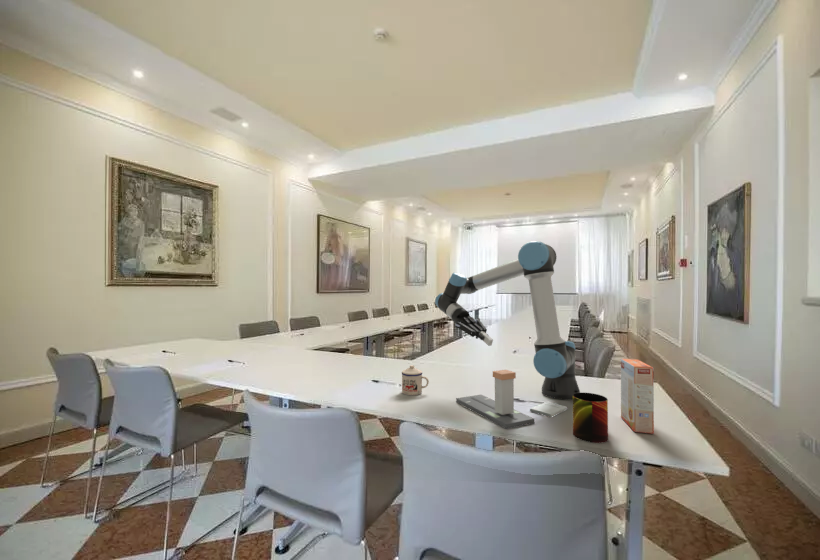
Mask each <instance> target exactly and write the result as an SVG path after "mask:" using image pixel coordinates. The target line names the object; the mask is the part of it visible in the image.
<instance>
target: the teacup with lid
mask: <svg viewBox="0 0 820 560" xmlns="http://www.w3.org/2000/svg"><path fill="white" fill-rule="evenodd" d="M423 379H424V380H426V384H425V385H423V382H422V381H423ZM429 383H430V382H429V378H428V377H427V376H423V371H422V370H420V369H418V368H416V367H415V366H414V365H412V364H411V365H409V367H408V368H406V369H403V370H402V371H401V392H402V394H404V395H406V396H418V395H421V394H422V393H423V389H426V388H427V387H428V386H429Z"/></svg>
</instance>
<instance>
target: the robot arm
mask: <svg viewBox="0 0 820 560" xmlns="http://www.w3.org/2000/svg"><path fill="white" fill-rule="evenodd" d="M556 262H557V252H556V250H555V249H554V248H553V247H552V246H551V245H550V244H547V243H546V244H545V243H544V242H542V241H537V240H536V241H535V240H532V241H528V242H526V243H525V244H523V245H522V247H520V249H519V250H518V255H517V259H515V260H511V261H509V262H507V263H504V264H502V265H498V266H496V267H494V268H493V267H492V268H491V269H488V270H485V271H483V272H480V273H477V274H475V275H472V276H470V277H466V276H465V275H464V274H461V273H458V272H453V273H451V275H450V277H449V279H448V282H447V284H446V286H445V288H444V291H443V292H441V293H439V294H438V295H437V296H436V297H435V300H434V303H435V306H436V307H437V308H438V309H439V310H440V311H441V312H443V313H444V314H445V315H446V316H447V317H449V319H451V321H453V322H454V323H455V324H454V325H455V326H454V327H455V328H456V329H459V330H461V331H462V332H463V333H465V334H467V335H469V336H470V337H472V338H474V337H475V339H479V340H480V341H483V342H484V343H485V344H486V345H487V346H489V347H490V346H492V345H493V343H494V342H493V341H494V339H493V338H492V337H491V336H490V335H489V334H488V333H487V330H488V328H487V327H486V326H485V324H483V322H482V321H481V318H480V317H477V318H476V319H475V318H474V317H473V316H471V314H470V313H469V311H467V309H465V308H464V307H463V306H461V304H459V303H458V300H459V299H460V297H461V294H462V295H463V294H464V295H465V294H466V295H471V294H474V293H476V292H478V291H480V290H483V289H485V288H488V287H489V288H490V287H491V286H494V285H497V284H500V283H503V282H506V281H509V280H512V279H514V278H518V277H521V276H523V277H524V278H525V279H526V280H528V285H529V291H530V297H531V305H532V311H533V319H534V326H535V332H536V340H535V341H534V343H533V344H534V352H535V354H534V356H533V363H532V364H533V366H534V369H535V371H536V372H537V373H539V374H540V375H541V376H542V377H544V379H543V383H542V385H541V394H542V395H543V396H545V397H548V398H551V399H555V400H556V399H557V400H563V401H564V400H565V401H567V400H569V401H573V394H575V393H581V390H580V387H579V384H578V381H577V378H576V350H577V349H576V344H575V343H574V342H573V341H569V340H568V341H567V340H565V339H563V338H562V337H561V335H560V334H561V333H560V328H559V321H558V315H557V308H556V307H557V306H556V302H555V295H554V289H553V283H552V282H553V281H552V276H553V275H554V274H555V269H554V265H555V264H556Z"/></svg>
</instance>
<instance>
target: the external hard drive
mask: <svg viewBox="0 0 820 560" xmlns="http://www.w3.org/2000/svg"><path fill="white" fill-rule="evenodd" d="M567 410H568V407H567V406H566V405H561V404H557V403H555V402H554V403H553V402H550V401H545V402H543V403H540V404H539V405H536V406H534V407H531V408H529V412H530V411H531V413H534V412H535V413H534V414H537V413H539V414H538V415H541V414H543V415H542V416H544V415H546V416H545V417H548V416H549V417H548V418H553V417H555V416H557V415H559V414H561V413H563V412H565V411H567ZM558 413H559V414H558ZM556 414H557V415H556ZM554 415H555V416H554ZM552 416H553V417H552Z"/></svg>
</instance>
